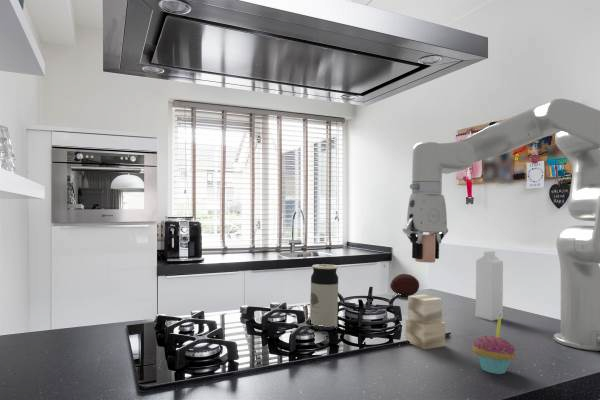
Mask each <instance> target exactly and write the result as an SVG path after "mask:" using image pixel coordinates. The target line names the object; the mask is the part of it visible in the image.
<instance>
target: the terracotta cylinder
mask: <svg viewBox="0 0 600 400" xmlns="http://www.w3.org/2000/svg"><path fill="white" fill-rule="evenodd" d="M416 237H417V235H416ZM420 244H422V245H423V250H422V259H414V260H415V262H418V263H436V259H435V244H436V235H435V234H434V235H429V233H428V234H424V233H423V235H422V239H421V243H420Z"/></svg>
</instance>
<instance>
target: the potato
mask: <svg viewBox="0 0 600 400" xmlns="http://www.w3.org/2000/svg"><path fill="white" fill-rule="evenodd" d="M419 288H420V281H419V280H418V278H416V277H415V276H414V275H412V274H407V273H401V274H398V275H396V276H395V277H394V278H393V279H392V280H391V282H390V289H391V291H393V292H394V293H395V294H396V295H398V293H399V294H401V295H400V296H401V297H408V296H414V295H415V294H416V293H417V292H418V291H419Z"/></svg>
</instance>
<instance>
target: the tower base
mask: <svg viewBox="0 0 600 400" xmlns="http://www.w3.org/2000/svg"><path fill="white" fill-rule="evenodd" d="M404 330H405V331H404V332H405V334H404V335H405V339H406V340H408V341H409V342H410V343H409V344H411V345H413V346H415V347H418V348H420V349H423V350H428V349H434V348H441V347H445V346H446V322H445V321H442V322H440V323H433V324H426V325H424V324H421V323H418V322H415V321H412V320H410V319H408V317H407V318H405V329H404Z"/></svg>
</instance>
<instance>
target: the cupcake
mask: <svg viewBox="0 0 600 400" xmlns="http://www.w3.org/2000/svg"><path fill="white" fill-rule="evenodd" d="M500 317H501V314H500ZM500 317H498V320H497V323H496V334H495V336H492V335H485V336H482V337H478V338H477V339H475V340H474V341H473V343H472V349H471V350H472V352H473V353H475V354H476V355H477V357H478V360H479V364H480V367H481V368H480V369H482V370H483V371H484V372H487V373H489V374H494V375H495V374H496V375H502V374H506V372H507V369H508V366H509V364H510V362H511V361H512V360H513V359H514V358H515V357H516V348H515V346H513V344H512V343H511V342H509V341H508V340H506V339H505V338H504V337H500V334H501V324H502V319H501V318H500Z"/></svg>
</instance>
